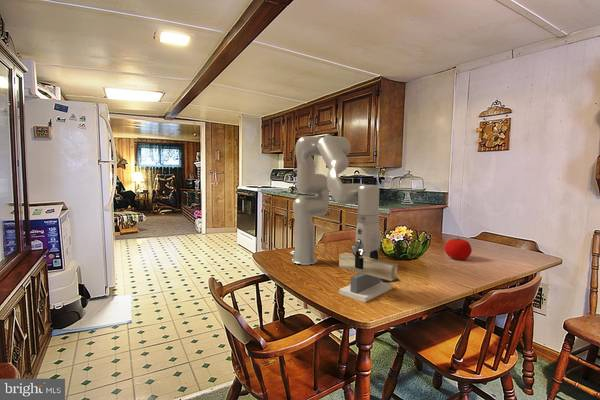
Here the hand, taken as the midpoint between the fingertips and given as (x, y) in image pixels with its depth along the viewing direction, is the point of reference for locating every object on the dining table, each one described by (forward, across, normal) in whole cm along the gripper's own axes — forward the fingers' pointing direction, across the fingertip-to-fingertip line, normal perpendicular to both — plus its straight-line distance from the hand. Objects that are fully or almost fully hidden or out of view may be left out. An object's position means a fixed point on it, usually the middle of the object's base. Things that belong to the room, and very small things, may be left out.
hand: (366, 265), depth 116 cm
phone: (+10, +19, +5) cm, 22 cm away
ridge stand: (+9, 0, 0) cm, 9 cm away
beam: (+2, 0, 0) cm, 2 cm away
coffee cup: (+10, +28, +16) cm, 34 cm away
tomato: (+10, +71, -8) cm, 72 cm away
